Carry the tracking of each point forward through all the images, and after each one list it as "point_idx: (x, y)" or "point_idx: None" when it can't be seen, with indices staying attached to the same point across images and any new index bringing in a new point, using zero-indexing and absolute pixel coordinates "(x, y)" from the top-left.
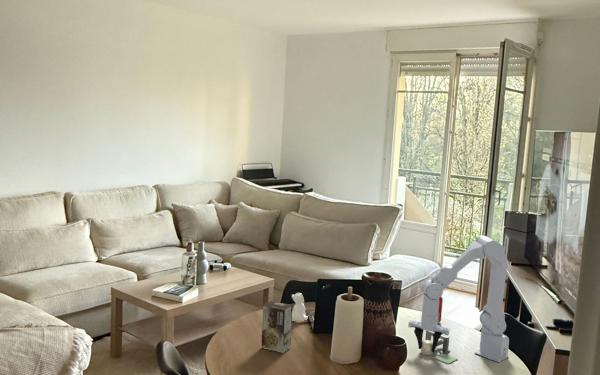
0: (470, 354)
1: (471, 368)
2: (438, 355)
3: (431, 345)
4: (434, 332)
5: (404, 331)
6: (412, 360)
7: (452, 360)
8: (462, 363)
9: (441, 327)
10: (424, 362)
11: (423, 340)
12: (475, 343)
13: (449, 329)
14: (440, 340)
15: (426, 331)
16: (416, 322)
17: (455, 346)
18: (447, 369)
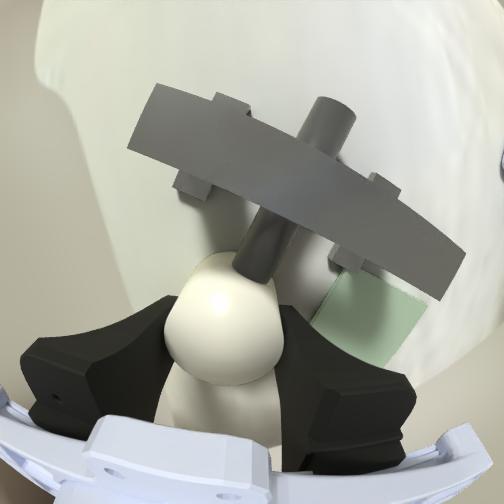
0: (487, 181)
1: (456, 355)
2: (319, 322)
3: (266, 367)
4: (273, 166)
5: (53, 21)
6: (183, 411)
7: (397, 343)
8: (437, 330)
9: (417, 489)
10: (243, 411)
11: (171, 318)
12: (472, 21)
13: (484, 467)
14: (334, 120)
15: (140, 153)
16: (15, 463)
17: (413, 73)
18: None
